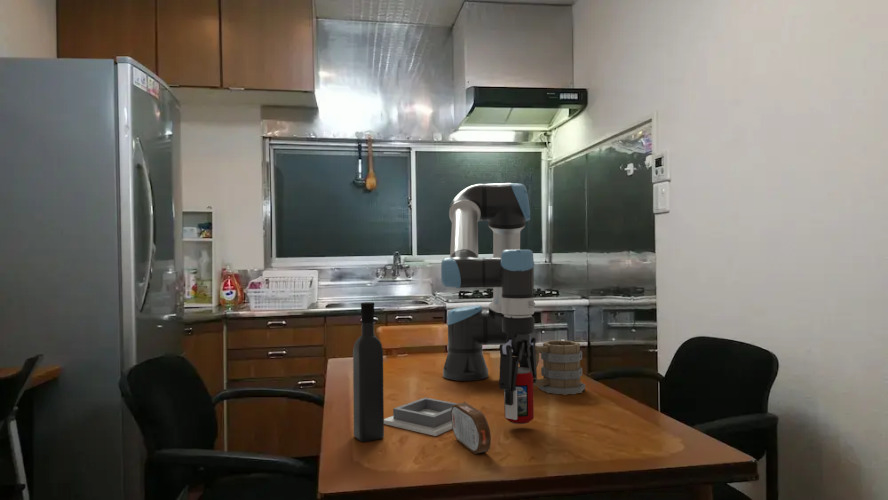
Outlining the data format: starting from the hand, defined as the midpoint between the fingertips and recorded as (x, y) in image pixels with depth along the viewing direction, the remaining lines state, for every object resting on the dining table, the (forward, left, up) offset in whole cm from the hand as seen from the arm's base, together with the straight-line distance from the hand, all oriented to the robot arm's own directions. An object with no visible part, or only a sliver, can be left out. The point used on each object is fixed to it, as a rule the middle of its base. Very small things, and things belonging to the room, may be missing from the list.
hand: (519, 414), depth 125 cm
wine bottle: (+24, -25, -4) cm, 35 cm away
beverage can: (0, 0, -2) cm, 2 cm away
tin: (+16, -3, -4) cm, 17 cm away
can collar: (+7, -21, -3) cm, 22 cm away
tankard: (-37, -9, -4) cm, 38 cm away
